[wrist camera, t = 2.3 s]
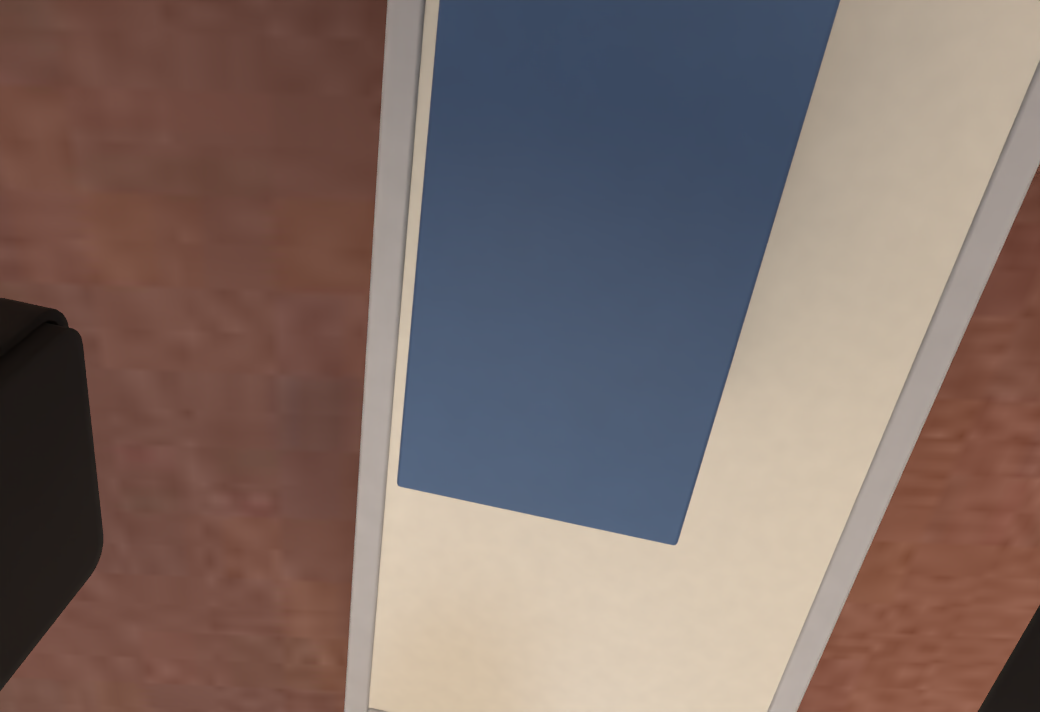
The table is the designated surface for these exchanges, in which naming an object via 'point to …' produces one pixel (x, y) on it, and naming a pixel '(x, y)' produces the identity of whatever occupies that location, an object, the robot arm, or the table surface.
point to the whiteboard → (743, 406)
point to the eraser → (594, 244)
